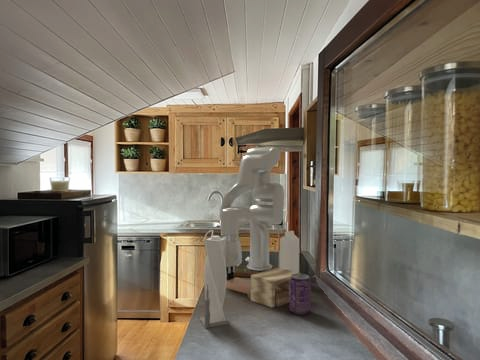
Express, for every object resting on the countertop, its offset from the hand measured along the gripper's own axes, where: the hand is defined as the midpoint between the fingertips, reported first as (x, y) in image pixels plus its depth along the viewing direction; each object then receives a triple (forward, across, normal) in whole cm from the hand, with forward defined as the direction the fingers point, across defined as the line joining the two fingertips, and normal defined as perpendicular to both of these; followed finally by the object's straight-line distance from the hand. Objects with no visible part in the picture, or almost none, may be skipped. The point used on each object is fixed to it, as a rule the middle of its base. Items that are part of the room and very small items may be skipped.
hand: (229, 281), depth 144 cm
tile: (+2, 0, -10) cm, 10 cm away
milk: (+1, +20, -16) cm, 26 cm away
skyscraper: (+1, -29, -24) cm, 37 cm away
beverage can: (+1, -3, -38) cm, 38 cm away
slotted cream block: (+1, 0, -24) cm, 24 cm away
